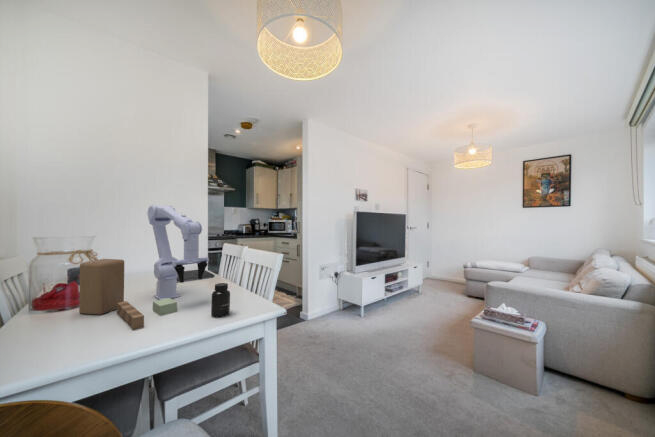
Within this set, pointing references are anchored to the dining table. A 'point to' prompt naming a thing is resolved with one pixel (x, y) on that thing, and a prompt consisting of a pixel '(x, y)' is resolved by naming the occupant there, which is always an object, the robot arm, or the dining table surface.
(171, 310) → the sage block
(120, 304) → the notched wooden bar
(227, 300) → the supplement bottle
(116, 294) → the block
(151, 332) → the dining table surface
